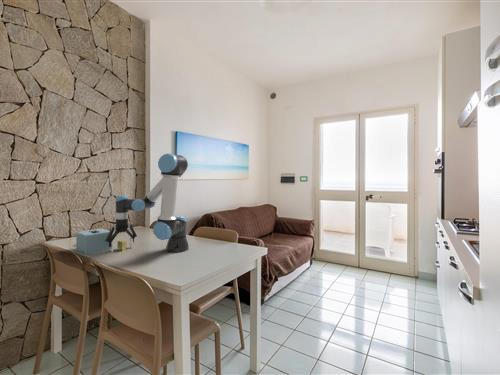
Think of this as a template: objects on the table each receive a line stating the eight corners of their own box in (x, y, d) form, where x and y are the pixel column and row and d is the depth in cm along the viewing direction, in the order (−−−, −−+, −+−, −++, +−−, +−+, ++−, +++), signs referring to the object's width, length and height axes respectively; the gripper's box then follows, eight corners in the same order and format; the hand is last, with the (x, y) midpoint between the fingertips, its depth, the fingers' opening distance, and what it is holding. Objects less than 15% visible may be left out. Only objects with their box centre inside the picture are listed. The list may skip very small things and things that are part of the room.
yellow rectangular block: (126, 250, 175) (126, 241, 175) (122, 251, 173) (122, 242, 173) (121, 248, 179) (121, 240, 179) (117, 249, 177) (117, 240, 176)
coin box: (112, 248, 178) (112, 231, 177) (86, 254, 165) (86, 235, 164) (101, 244, 187) (101, 228, 187) (76, 249, 174) (76, 231, 174)
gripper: (136, 215, 187) (136, 244, 188) (99, 220, 167) (99, 252, 168) (142, 217, 183) (141, 246, 184) (105, 221, 163) (105, 254, 164)
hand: (121, 249), depth 176 cm, fingers open, 13 cm apart
